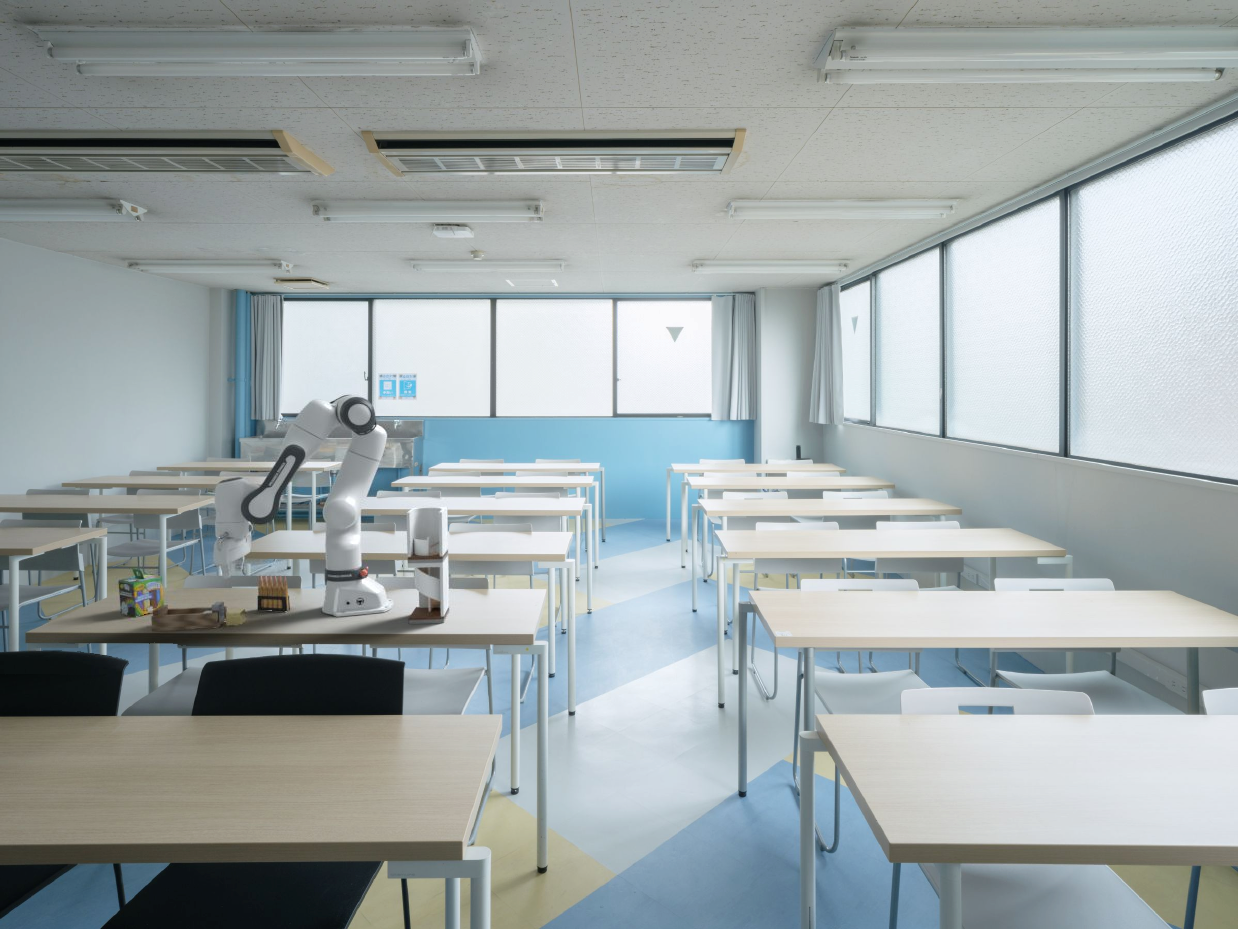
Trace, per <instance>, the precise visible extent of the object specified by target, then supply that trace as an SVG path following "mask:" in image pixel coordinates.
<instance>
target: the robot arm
mask: <svg viewBox="0 0 1238 929" xmlns="http://www.w3.org/2000/svg"><path fill="white" fill-rule="evenodd" d="M340 426H342V427H344V428H346V429H349V430H350V431H351V440H350V442H349V446H348V448H347V450H346V452H345V454H344V458H343V460H342V462H341V464H340V468H339V470H338V472H337V474H336V477H335V480H334V481H333V484H332V486H331V489H330V491H329V494H328V495H327V498H326V500H325V503H324V505H323V509H322V517H323V520H324V522H325V544H324V545H325V546H324V547H325V568H324V574H323V575H324V584H325V585H324V586H325V593H324V594H325V595H324V601H323V605H322V608H321V611H322V613H324V614H328V615H333V616H334V617H348V616H357V615H358V616H360V615H368V614H378V613H379V614H380V613H385V612H388V611H390V610H391V609H392V608H393V607H394V600H393V599H392V598H387V591H386V589H385V587H384V586H383V585H382V584H381V583H379V582H377V581H376V580H374V579H373V578H372V577H369V566H364V565H362V509H363V507H364V504H365V503H366V502H365V501H366V500H367V499H366V498H367V497H368V495H369V492H370V488H371V487H372V483H373V482H374V479H375V476H376V473H377V471H378V468H379V466H380V463H381V461H382V458H383V455H384V452H385V448H386V444H387V439H388V433H387V431H386V430H385V429H384V427H382V426H380V425H379V424H378V423H377V418H376V412H375V408H374V406H373V404H372V403H371V401H369V400H368V399H366V398H365V397H362V396H360V395H357V394H346V395H341V396H339V397H338V398H336V399H334V400H331V401H330V402H328V401H327V400H323V399H312V400H310V401H309V402H308V403H306V405H305V406H304V407H303V408H302V409H301V410H300V411H299V413H298V414H297V415H296V417H295V418H294V419H293V421H292V423H291V424H290V426H289V428H288V430H286V431H287V432H286V433H285V436H284V439H283V441H282V444H281V447H280V452H279V454H278V457H277V460H276V461H275V463H274V464H273V466H272V468H271V469H270V471H269V472H268V474H267V476H266V478H265V479H264V480H263V482H262V483H261V484H260V485H259V484H256V483H253V482H251V481H249V480H247V479H245V478H244V477H240V476H239V477H238V476H236V477H231V478H230V477H229V478H226V479H223V480H220V482H217V484H216V485H215V490H214V510H215V514H216V515H215V519H214V520H215V521H214V523H215V524H214V526H215V528H214V530H215V532H214V533H215V537H216V538H218V539H217V540H215V541H214V544H213V557H212V559H213V564H214V566H216V567H220V570H221V572H222V577H223V579H229V578H231V577H232V571H231V570H230V567H231V566H230V565H231V564H232V563H234V562H235V566H234V571H236V572H241V571H243V569H244V562H245V556H246V555H248V554H250V552H251V549H252V533H251V532H253V529H254V527H253V525H266V524H269V523H271V522H272V521H273V520H275V518H276V517H277V515H278V513H279V509H280V507H281V504H282V503H281V502H282V499H281V497H282V495H283V493H284V492H285V490H286V489H287V488H288V485H289V484H290V482H291V481H292V480H293V478H294V476H295V474H297V472H298V471H299V469H301V468H302V467H303V466H304V465H305V464H306V463H307V462H308V461H309V460H310V459H312V458H313V457H314V456H315V455H316V454H317V452H318V451H319V450H320V449H321V448H322V446H323V445H324V443H325V442H326V440H327V438H328V437H329V435H330V433H332V431H333V430H334V429H335V428H337V427H340Z"/></svg>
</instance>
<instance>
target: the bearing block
mask: <svg viewBox="0 0 1238 929" xmlns="http://www.w3.org/2000/svg"><path fill="white" fill-rule="evenodd" d="M227 607H228V606H227V605H226V606H225V605H224V616H225V619H224V620H222V621H221V622H220V623H218V613H203V612H205V611H211V610H212V606H202V607H201V606H199V607H179V608H178V607H177V608H169V606H168V604H164V605H162V606H160V607H158V608H156V609H155V610H153V613H152V615H151V618H150V619H151V620H150V621H151V631H152V632H163V631H180V630H181V629H186V630H193V629H192V628H207V629H214V628H213V627H216V628H215V629H218V628H219V627H220V626H222V625H223V624H224V623H225V622H224V621H226V613H227V612H228V609H227ZM223 622H224V623H223ZM222 623H223V624H222ZM221 624H222V625H221ZM219 625H220V626H219ZM218 626H219V627H218ZM217 627H218V628H217ZM179 629H180V630H179Z"/></svg>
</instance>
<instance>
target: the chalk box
mask: <svg viewBox="0 0 1238 929" xmlns="http://www.w3.org/2000/svg"><path fill="white" fill-rule="evenodd" d="M132 572H133V574H134V576H131V577H126V578H122V579H118V592H119V593H118V594H119V604H120V605H119V607H120V608H119V609H120V614H121V613H123V614H122V615H125V614H127V615H126V616H129V615H130V616H129V617H132V616H135V617H134V618H137V617H136V616H139V615H143V616H145V615H144V614H146V615H149V614H148V613H150V614H153V613H152V612H153V610H155V609H156V608H158V607H160V606H162V605H165V599H164V588H163V577H162V576H161V575H154V574H143V572H142V570H141V569H139V568H135V567H134V568H132ZM137 572H138V573H139V574H138V573H137ZM139 617H140V616H139Z"/></svg>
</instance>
